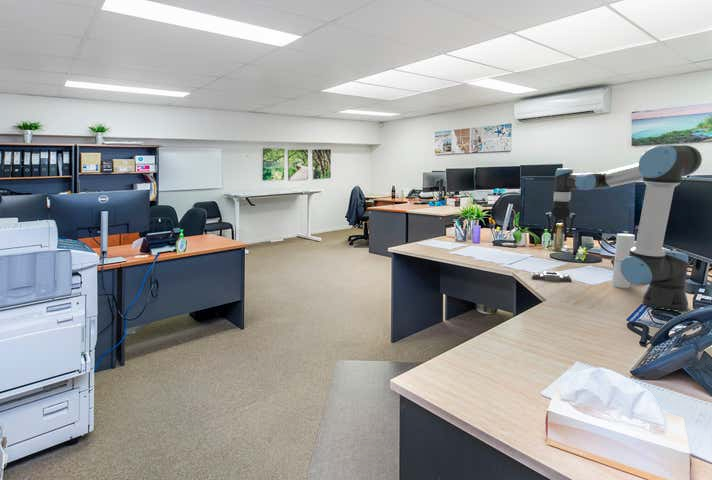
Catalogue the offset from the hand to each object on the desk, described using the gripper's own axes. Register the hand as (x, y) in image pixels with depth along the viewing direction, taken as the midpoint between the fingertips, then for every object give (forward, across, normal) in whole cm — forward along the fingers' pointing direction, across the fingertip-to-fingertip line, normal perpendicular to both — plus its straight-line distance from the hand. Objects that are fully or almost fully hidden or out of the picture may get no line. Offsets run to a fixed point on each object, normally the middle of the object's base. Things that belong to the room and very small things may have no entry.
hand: (557, 247), depth 207 cm
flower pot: (+17, -33, -14) cm, 40 cm away
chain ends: (+17, +2, -2) cm, 18 cm away
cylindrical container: (+17, -29, +1) cm, 34 cm away
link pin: (+2, 0, 0) cm, 2 cm away
